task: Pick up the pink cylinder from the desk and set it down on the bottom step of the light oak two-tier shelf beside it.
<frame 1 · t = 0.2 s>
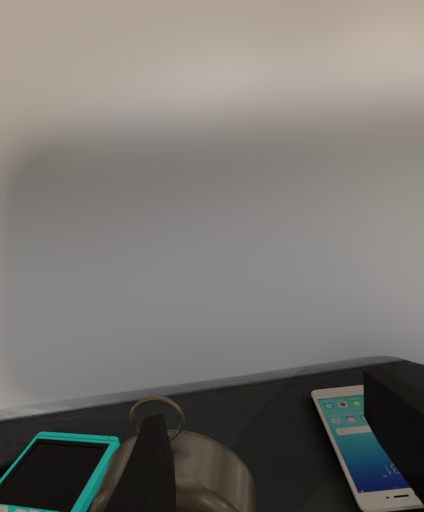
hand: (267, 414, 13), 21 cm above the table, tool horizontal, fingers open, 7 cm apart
smartphone: (367, 443, 37), on the table
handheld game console: (35, 511, 34), on the table
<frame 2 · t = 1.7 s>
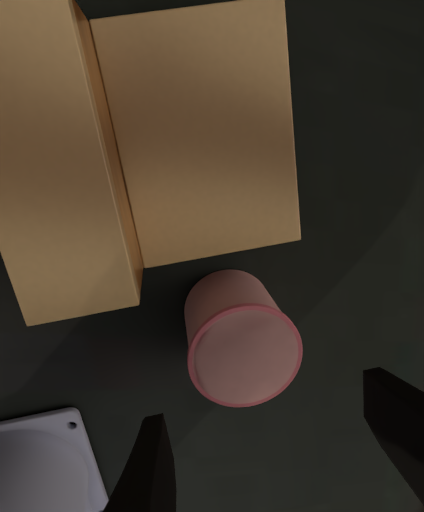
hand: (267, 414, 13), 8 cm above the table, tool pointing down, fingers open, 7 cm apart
pink cylinder: (227, 309, 21), on the table
step shelf: (160, 148, 18), on the table
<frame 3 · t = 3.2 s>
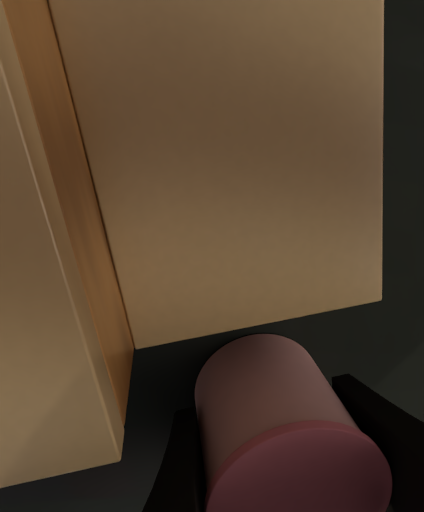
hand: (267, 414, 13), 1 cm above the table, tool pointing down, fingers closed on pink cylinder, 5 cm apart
pink cylinder: (256, 388, 14), on the table, touching gripper
step shelf: (161, 157, 11), on the table
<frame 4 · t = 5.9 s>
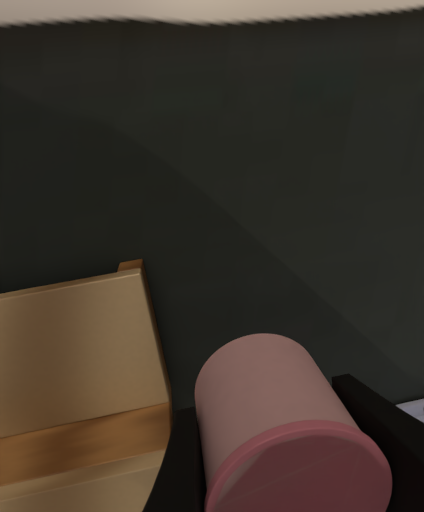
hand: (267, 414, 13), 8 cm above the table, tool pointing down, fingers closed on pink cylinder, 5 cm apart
pink cylinder: (256, 388, 14), point 7 cm above the table, touching gripper
step shelf: (74, 369, 21), on the table
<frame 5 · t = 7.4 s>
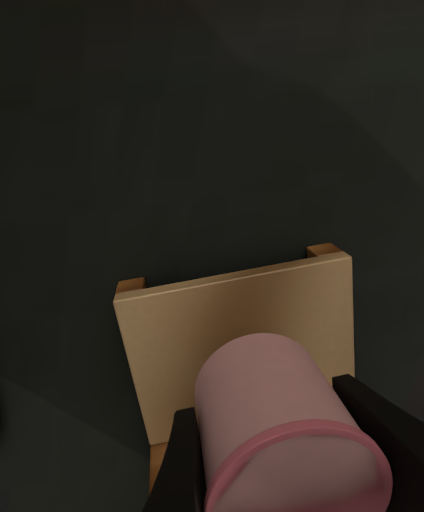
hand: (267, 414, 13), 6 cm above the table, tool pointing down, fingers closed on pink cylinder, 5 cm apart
pink cylinder: (256, 387, 14), point 4 cm above the table, touching gripper
step shelf: (241, 365, 19), on the table
when the fingers open (4 cm above the table, at t = 8.6 s): pink cylinder stays where it is, resting on step shelf.
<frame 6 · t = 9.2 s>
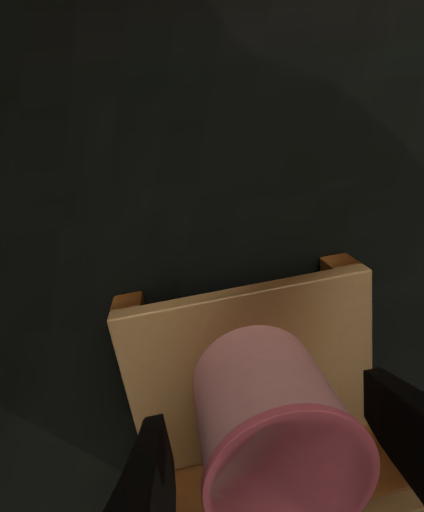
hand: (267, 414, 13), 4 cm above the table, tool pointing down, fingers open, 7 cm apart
pink cylinder: (252, 378, 15), point 2 cm above the table, touching step shelf
step shelf: (247, 384, 18), on the table
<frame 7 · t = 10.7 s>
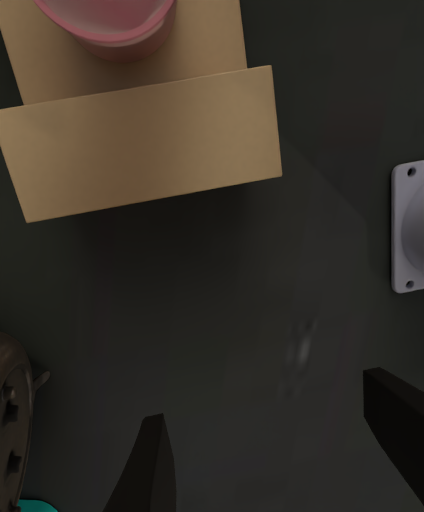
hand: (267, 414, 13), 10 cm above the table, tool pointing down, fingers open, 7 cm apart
step shelf: (134, 62, 18), on the table
alarm clock: (12, 367, 23), on the table
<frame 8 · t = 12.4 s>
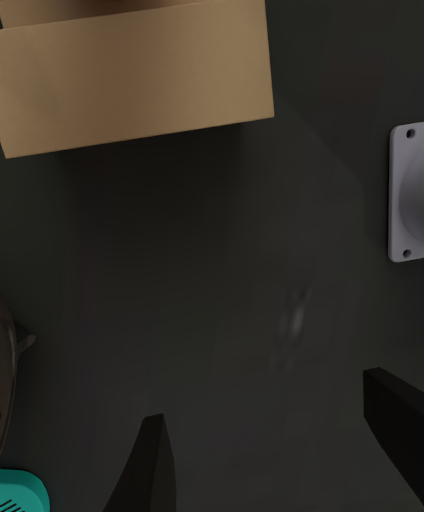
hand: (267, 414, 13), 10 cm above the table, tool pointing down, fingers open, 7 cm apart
step shelf: (125, 7, 17), on the table
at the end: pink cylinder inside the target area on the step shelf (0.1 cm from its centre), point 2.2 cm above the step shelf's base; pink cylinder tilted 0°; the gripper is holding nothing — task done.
